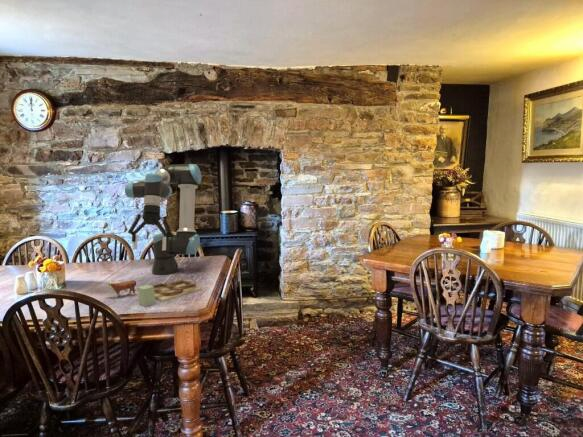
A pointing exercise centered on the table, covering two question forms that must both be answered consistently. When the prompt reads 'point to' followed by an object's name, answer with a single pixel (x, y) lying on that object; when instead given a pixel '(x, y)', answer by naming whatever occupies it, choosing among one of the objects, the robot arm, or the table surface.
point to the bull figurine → (122, 287)
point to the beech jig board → (174, 289)
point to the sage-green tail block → (146, 295)
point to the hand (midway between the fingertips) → (149, 249)
